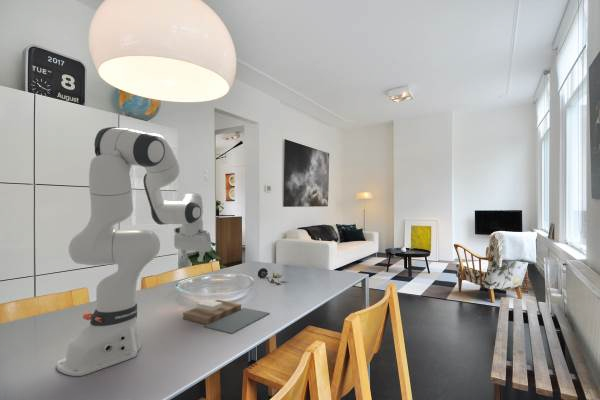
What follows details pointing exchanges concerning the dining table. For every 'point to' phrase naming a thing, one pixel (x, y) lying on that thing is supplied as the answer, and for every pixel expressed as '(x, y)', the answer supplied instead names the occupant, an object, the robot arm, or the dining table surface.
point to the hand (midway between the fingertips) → (192, 260)
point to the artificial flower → (263, 273)
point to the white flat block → (209, 305)
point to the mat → (236, 320)
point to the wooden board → (211, 313)
